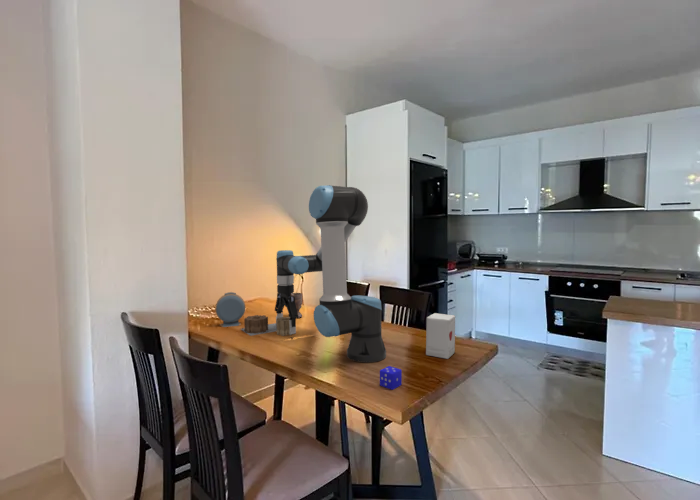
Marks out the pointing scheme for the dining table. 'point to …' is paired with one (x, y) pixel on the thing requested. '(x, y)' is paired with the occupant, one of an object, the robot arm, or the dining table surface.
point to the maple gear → (283, 326)
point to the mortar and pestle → (298, 302)
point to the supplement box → (440, 335)
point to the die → (390, 377)
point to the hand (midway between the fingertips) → (286, 330)
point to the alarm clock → (230, 309)
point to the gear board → (270, 329)
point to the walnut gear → (256, 324)
